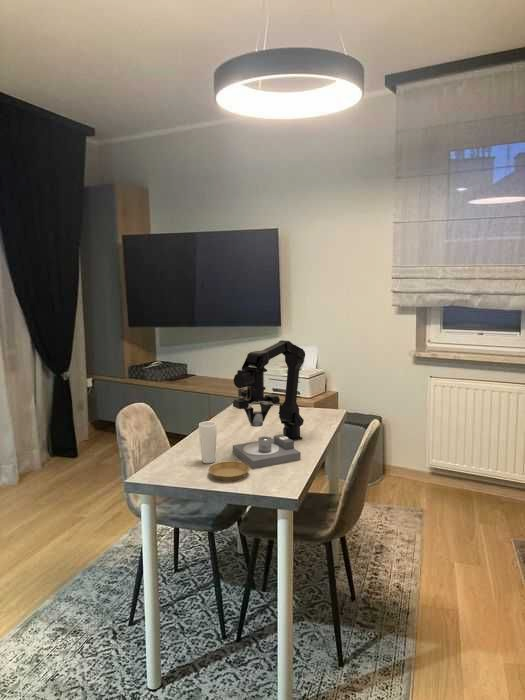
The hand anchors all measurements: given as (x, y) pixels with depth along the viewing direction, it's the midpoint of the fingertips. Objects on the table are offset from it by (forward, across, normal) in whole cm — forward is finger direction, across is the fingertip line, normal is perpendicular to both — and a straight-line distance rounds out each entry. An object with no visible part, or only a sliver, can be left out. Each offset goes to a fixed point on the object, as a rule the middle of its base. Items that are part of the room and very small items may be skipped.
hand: (256, 422), depth 210 cm
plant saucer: (+13, +20, +14) cm, 28 cm away
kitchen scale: (+12, -1, +6) cm, 14 cm away
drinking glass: (+13, +20, -2) cm, 24 cm away
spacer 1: (+1, 0, 0) cm, 1 cm away
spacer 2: (+9, +2, +9) cm, 13 cm away
